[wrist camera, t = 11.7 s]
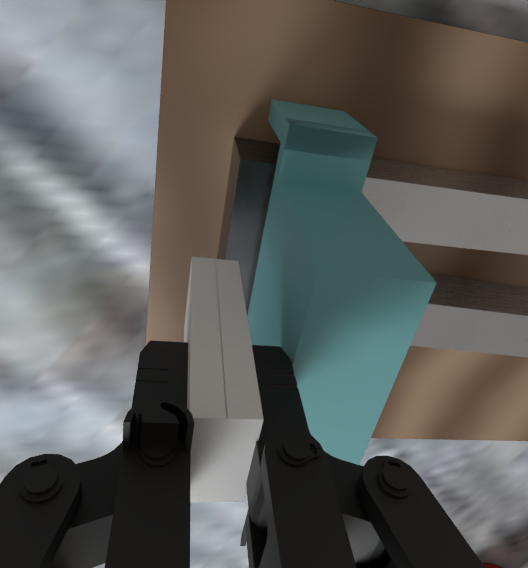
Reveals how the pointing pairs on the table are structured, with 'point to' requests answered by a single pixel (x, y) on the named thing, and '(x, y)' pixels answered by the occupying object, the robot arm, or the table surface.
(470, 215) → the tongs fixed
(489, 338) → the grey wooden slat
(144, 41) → the table surface
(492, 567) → the canned food
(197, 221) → the board
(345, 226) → the teal upright slab
